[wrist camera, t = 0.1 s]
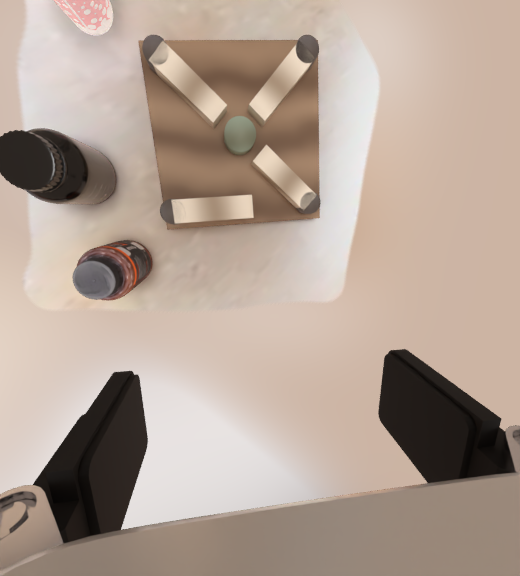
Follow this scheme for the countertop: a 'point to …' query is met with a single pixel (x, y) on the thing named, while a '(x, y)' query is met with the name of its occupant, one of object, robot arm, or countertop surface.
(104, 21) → the beverage cup
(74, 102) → the countertop surface
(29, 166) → the supplement bottle
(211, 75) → the stool seat
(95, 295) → the supplement bottle
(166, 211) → the hinged leg
